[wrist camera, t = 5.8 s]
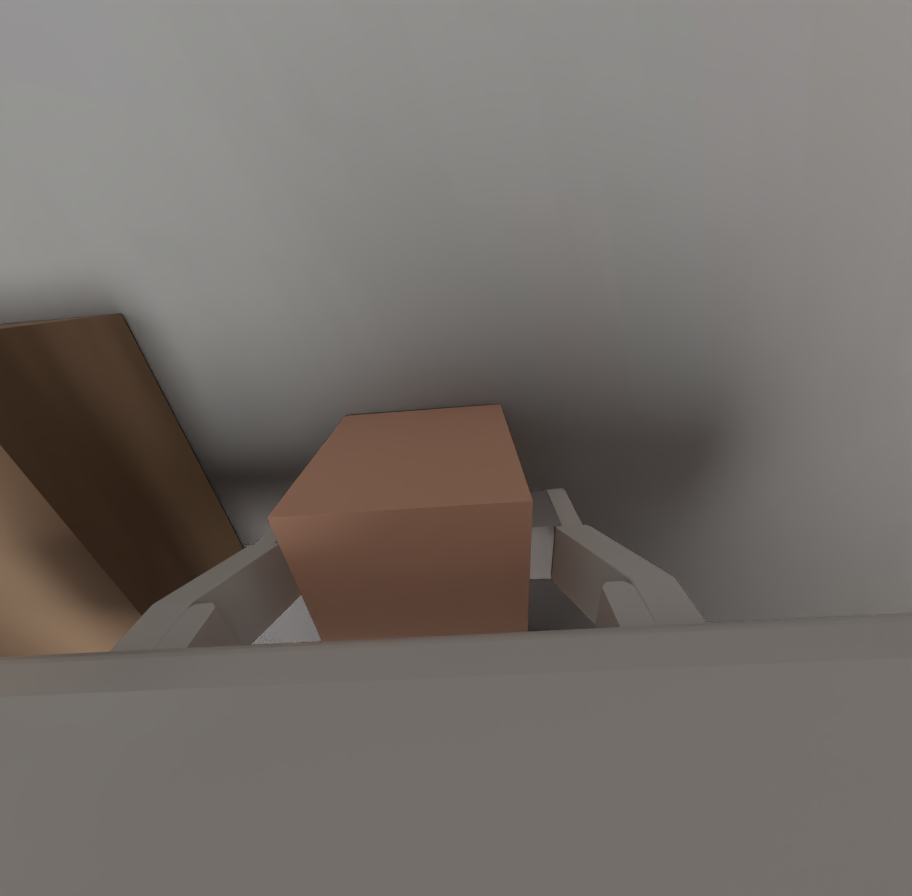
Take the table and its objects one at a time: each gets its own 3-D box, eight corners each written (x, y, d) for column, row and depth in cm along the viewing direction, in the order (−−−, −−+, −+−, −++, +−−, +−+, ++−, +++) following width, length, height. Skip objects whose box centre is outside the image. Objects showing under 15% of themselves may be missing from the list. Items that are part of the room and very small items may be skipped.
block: (500, 404, 10) (532, 500, 6) (502, 525, 13) (526, 658, 8) (345, 415, 11) (267, 517, 6) (375, 532, 13) (333, 667, 9)
